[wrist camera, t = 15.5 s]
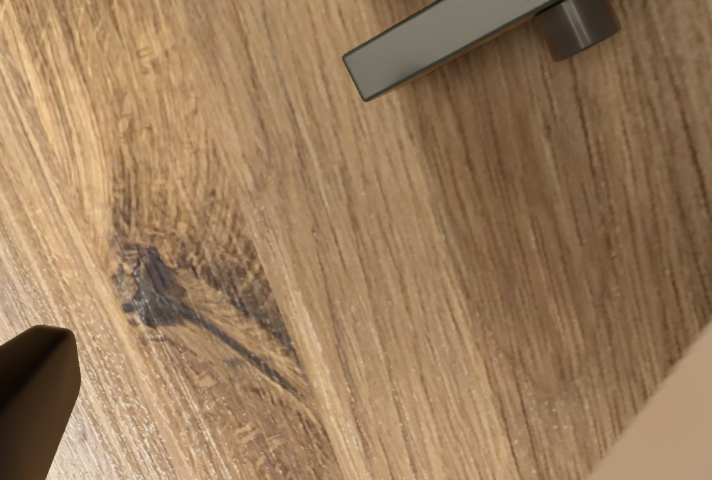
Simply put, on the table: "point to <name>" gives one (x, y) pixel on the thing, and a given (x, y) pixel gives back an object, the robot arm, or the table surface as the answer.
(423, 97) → the table surface
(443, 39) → the drawer
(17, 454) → the robot arm
